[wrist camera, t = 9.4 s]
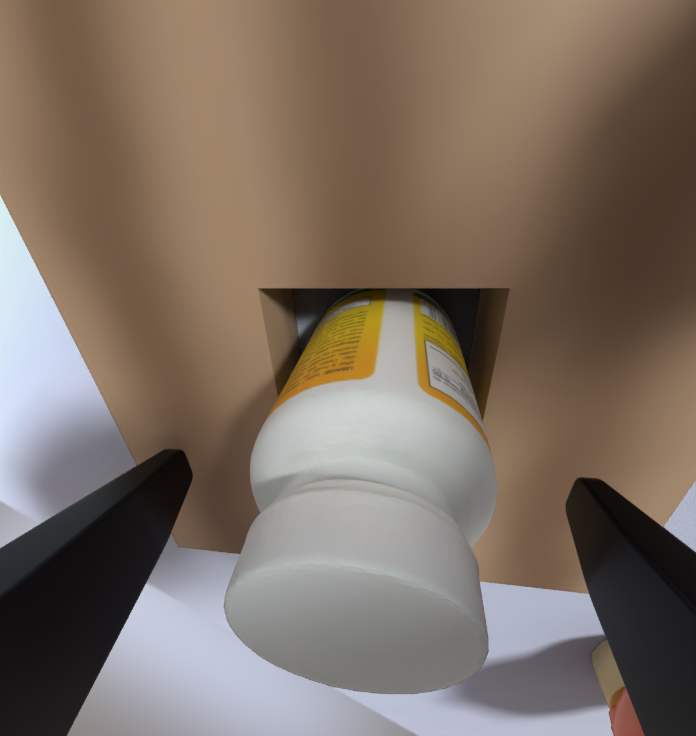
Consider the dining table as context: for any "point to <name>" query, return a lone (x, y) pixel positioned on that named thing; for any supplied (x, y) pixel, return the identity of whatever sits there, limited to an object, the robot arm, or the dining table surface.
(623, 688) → the cake
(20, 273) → the dining table surface
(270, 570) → the supplement bottle
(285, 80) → the socket block
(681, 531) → the dining table surface
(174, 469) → the robot arm
